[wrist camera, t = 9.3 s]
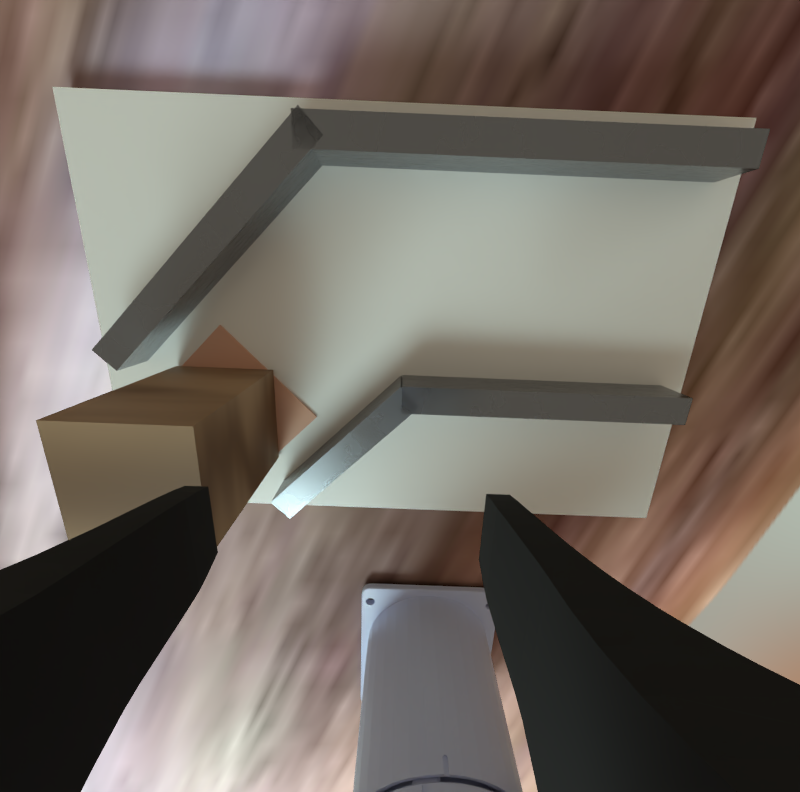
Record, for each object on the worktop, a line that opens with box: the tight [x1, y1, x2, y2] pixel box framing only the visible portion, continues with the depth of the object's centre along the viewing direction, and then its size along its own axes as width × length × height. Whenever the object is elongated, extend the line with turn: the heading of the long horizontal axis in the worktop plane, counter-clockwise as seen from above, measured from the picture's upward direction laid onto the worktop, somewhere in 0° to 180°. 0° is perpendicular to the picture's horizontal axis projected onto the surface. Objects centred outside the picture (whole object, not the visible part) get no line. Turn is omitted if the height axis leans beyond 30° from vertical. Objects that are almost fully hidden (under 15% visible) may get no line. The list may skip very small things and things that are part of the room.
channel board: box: [53, 87, 756, 518], centre depth 17 cm, size 18×27×1 cm, turn 88°
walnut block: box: [36, 366, 279, 546], centre depth 15 cm, size 4×4×7 cm
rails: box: [92, 105, 770, 518], centre depth 16 cm, size 16×25×2 cm, turn 88°
